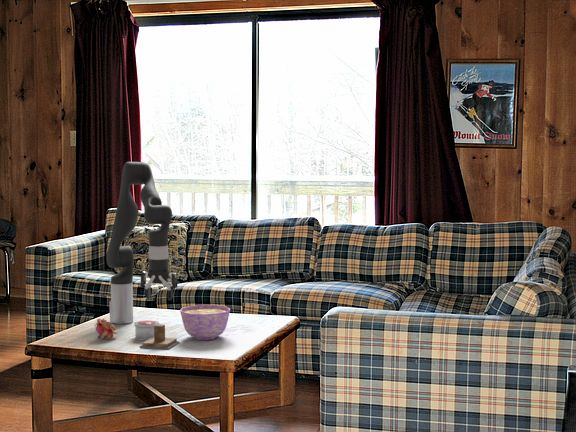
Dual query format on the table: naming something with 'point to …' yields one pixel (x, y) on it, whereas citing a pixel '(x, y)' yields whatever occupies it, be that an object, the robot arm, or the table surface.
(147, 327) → the jam crock
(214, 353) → the table surface
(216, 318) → the bowl of food
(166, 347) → the mat
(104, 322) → the flower
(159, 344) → the lid
